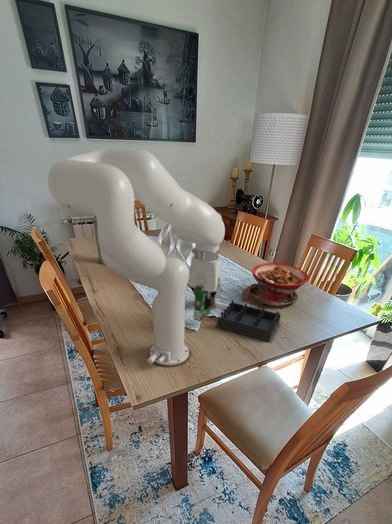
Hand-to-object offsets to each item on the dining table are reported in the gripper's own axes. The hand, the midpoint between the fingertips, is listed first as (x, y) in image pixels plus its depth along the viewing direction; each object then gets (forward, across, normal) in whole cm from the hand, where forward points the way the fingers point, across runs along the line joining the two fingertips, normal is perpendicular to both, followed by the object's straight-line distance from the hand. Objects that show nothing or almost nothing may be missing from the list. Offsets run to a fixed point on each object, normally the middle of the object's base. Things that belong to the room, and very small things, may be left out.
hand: (202, 305), depth 102 cm
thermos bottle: (+8, -74, +35) cm, 82 cm away
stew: (+8, +17, +37) cm, 42 cm away
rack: (+8, +15, +10) cm, 20 cm away
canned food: (+8, -6, +16) cm, 19 cm away
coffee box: (+5, 0, 0) cm, 5 cm away
